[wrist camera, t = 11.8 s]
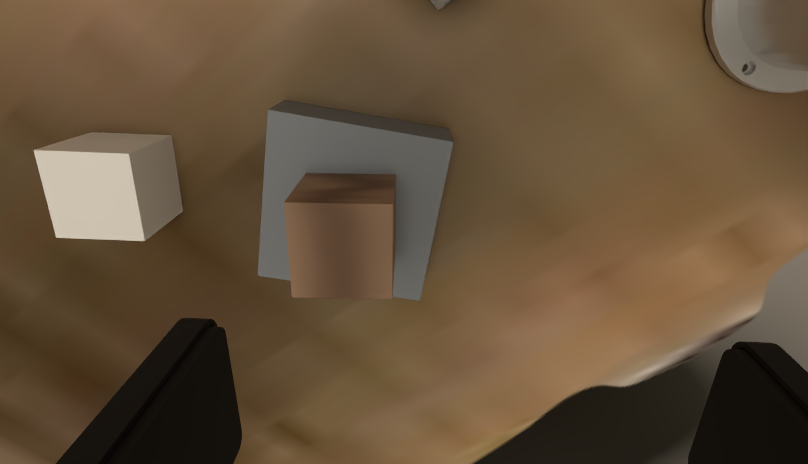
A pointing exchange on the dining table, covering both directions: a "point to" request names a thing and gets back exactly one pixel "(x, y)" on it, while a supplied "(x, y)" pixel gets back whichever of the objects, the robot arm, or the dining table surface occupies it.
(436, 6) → the light bulb box
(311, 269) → the walnut cube
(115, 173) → the off-white cube
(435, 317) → the dining table surface
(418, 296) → the base block
